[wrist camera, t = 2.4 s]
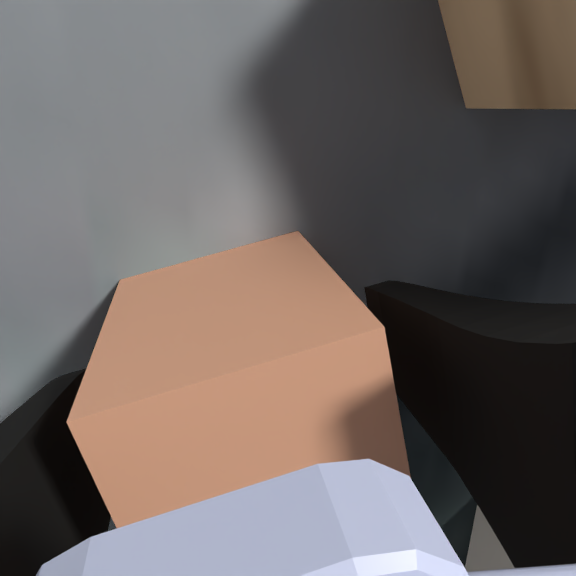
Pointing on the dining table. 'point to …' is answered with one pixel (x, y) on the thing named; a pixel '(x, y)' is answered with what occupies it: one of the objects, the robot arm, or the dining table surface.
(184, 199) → the dining table surface
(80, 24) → the dining table surface
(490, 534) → the off-white cube
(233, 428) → the terracotta block
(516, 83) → the oak cube
